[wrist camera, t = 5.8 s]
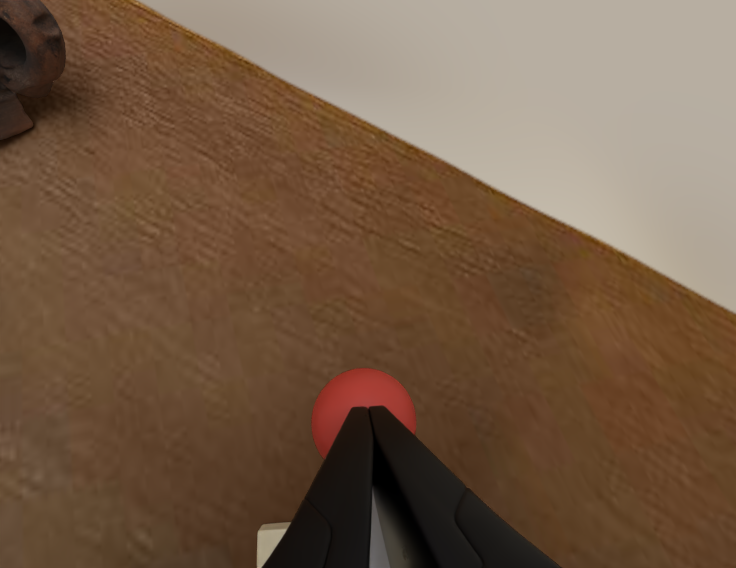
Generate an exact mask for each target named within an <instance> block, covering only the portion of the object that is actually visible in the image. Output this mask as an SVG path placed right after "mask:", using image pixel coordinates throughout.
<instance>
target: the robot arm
mask: <svg viewBox="0 0 736 568" xmlns="http://www.w3.org/2000/svg"><path fill="white" fill-rule="evenodd" d="M372 492H373V495H374V500H375V504H376V509H377V513H378V517H379V522H380V526H381V530H382V535H383V539H384V543H385V548H386V552H387V556H388V561H389V565H390V568H562V567H560V566H559V565H558V564H557V563H555V562H554V561H553V560H552V559H550V558H549V557H548V556H547V555H545V554H544V553H543V552H542V551H540V550H539V549H538V548H537V547H535V546H534V545H533V544H532V543H530V542H529V541H528V540H527V539H525V538H524V537H523V536H522V535H521V534H519V533H518V532H517V531H516V530H514V529H513V528H512V527H511V526H510V525H509V524H507V523H506V522H505V521H504V520H503V519H501V518H500V517H499V516H498V515H497V514H496V513H494V512H493V511H492V510H491V509H490V508H489V507H488V506H487V505H486V504H485V503H484V502H483V501H482V500H481V499H479V498H478V497H477V496H476V495H475V494H474V493H473V492H472V491H471V490H470V489H469V488H466V486H465V484H463V483H462V482H461V481H460V480H459V479H458V478H457V477H456V476H455V475H454V474H453V473H452V472H451V471H450V470H449V469H448V468H447V467H446V466H445V465H444V464H443V463H442V462H441V461H440V460H439V459H438V458H437V457H436V456H435V455H434V454H433V453H432V452H431V451H430V450H429V449H428V448H427V447H426V446H425V445H424V444H423V443H422V442H421V441H420V440H419V439H418V438H417V437H416V436H415V435H414V434H413V433H412V432H411V431H410V430H409V429H408V428H407V427H406V426H405V425H404V424H403V423H402V422H401V421H400V420H399V419H398V418H397V417H395V416H394V415H393V414H392V413H391V412H390V411H389V410H388V409H387V408H386V407H385V406H383V405H379V406H370V407H369V408H367V407H366V406H360V407H352V408H351V409H350V411H349V413H348V415H347V417H346V419H345V421H344V423H343V425H342V426H341V428H340V430H339V432H338V434H337V436H336V438H335V440H334V442H333V444H332V446H331V448H330V450H329V452H328V454H327V455H326V457H325V459H324V461H323V463H322V465H321V467H320V469H319V471H318V473H317V475H316V477H315V479H314V481H313V483H312V484H311V486H310V488H309V490H308V492H307V494H306V496H305V499H304V500H303V501H302V503H301V505H300V507H299V509H298V511H297V513H296V514H295V516H294V518H293V520H292V521H291V523H290V525H289V527H288V528H287V530H286V532H285V534H284V535H283V537H282V538H281V540H280V541H279V543H278V544H277V546H276V547H275V549H274V550H273V552H272V553H271V555H270V556H269V558H268V559H267V560H266V562H265V563H264V565H263V566H262V568H370V545H371V519H372Z"/></svg>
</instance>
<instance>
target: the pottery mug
mask: <svg viewBox="0 0 736 568" xmlns="http://www.w3.org/2000/svg"><path fill="white" fill-rule="evenodd" d="M65 59H66V55H65V42H64V39H63V35H62V32H61V30H60V28H59V26H58V24H57V22H56V20H55V19H54V17H53V15H52V14H51V13H50V11H49V10H48V9H47V7H46V6H45V5H44V4H43V3H42V2H41V1H40V0H0V140H3V139H6V138H8V137H11V136H13V135H16V134H19V133H21V132H23V131H25V130H28V129H30V128H32V127H33V122H32V121H31V119H30V118H29V116H28V115H27V114H26V113H25V112H24V110H23V106H22V104H21V102H20V101H19V100H18V97H17V95H16V93H18V94H22V95H25V96H29V97H33V98H38V97H45V96H47V95H48V93H49V92H50V90H51V87H52V84H53V81H55V80H56V79H57V78H58V77H60V75H61V74H62V72H63V70H64V67H65Z"/></svg>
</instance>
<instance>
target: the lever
mask: <svg viewBox="0 0 736 568" xmlns="http://www.w3.org/2000/svg"><path fill="white" fill-rule="evenodd" d="M379 405H383V406H385V407H386V408H387V409H388V410H389V411H390V412H391V413H392V414H393V415H394V416H395V417H397V418H398V419H399V420H400V421H401V422H402V423H403V424H404V425H405V426H406V427H407V428H408V429H409V430H410V431H411V432H412V433H413V434H414V435H415V432H416V415H415V409H414V406H413V403H412V400H411V398H410V396H409V394H408V393H407V391H406V390H405V388H404V387H403V386H402V385H401V384H400V383H399V382H398V381H397V380H396V379H394V378H393V377H392V376H390V375H388V374H386V373H384V372H382V371H379V370H375V369H370V368H358V369H353V370H349V371H346V372H343V373H341V374H340V375H338V376H336V377H335V378H333V379H332V380H331V381H330V382H329V383H328V384H327V385H326V386H325V387H324V388H323V389H322V391H321V392H320V394H319V396H318V398H317V400H316V402H315V405H314V408H313V412H312V421H311V426H312V434H313V439H314V442H315V445H316V447H317V449H318V451H319V453H320V455H321V456H322V457H323V459H325V457H326V455H327V454H328V452H329V450H330V448H331V446H332V444H333V442H334V440H335V438H336V436H337V434H338V432H339V430H340V428H341V426H342V425H343V423H344V421H345V419H346V417H347V415H348V413H349V411H350V409H351V408H352V407H360V406H366V407H367V408H369V407H370V406H379ZM370 568H390V565H389V561H388V556H387V552H386V548H385V543H384V539H383V535H382V530H381V526H380V522H379V517H378V513H377V509H376V504H375V500H374V495H373V492H372V519H371V545H370Z"/></svg>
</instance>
